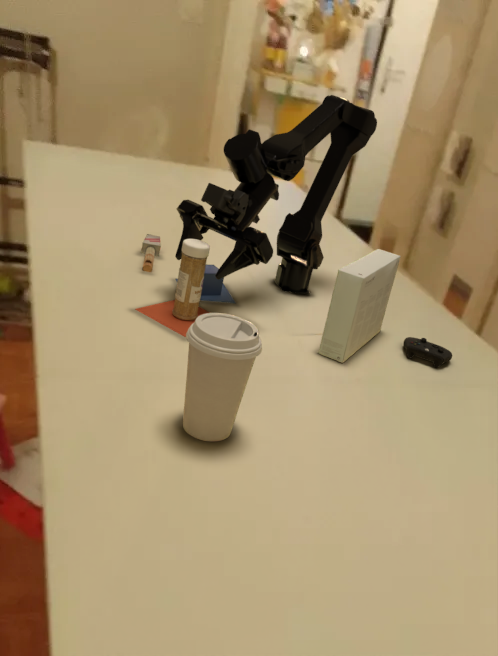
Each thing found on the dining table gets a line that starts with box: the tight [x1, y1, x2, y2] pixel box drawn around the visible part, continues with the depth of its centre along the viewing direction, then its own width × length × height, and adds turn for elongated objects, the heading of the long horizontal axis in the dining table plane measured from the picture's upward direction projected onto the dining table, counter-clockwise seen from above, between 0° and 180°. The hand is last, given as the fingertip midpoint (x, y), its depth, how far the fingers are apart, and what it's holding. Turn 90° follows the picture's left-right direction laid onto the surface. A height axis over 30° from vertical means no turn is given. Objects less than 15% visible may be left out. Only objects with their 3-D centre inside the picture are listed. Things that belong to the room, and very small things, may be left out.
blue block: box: [201, 264, 225, 295], centre depth 131 cm, size 4×4×4 cm
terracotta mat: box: [134, 299, 211, 338], centre depth 119 cm, size 12×12×1 cm
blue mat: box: [175, 278, 237, 304], centre depth 132 cm, size 10×10×1 cm
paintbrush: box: [140, 233, 162, 273], centre depth 142 cm, size 4×3×20 cm
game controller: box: [403, 336, 453, 368], centre depth 129 cm, size 10×5×6 cm
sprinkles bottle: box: [172, 239, 211, 321], centre depth 116 cm, size 5×5×14 cm
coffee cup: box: [182, 312, 263, 442], centre depth 87 cm, size 10×10×15 cm
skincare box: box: [317, 248, 402, 364], centre depth 124 cm, size 21×6×16 cm, turn 154°
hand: (196, 268), depth 116 cm, fingers open, 9 cm apart
